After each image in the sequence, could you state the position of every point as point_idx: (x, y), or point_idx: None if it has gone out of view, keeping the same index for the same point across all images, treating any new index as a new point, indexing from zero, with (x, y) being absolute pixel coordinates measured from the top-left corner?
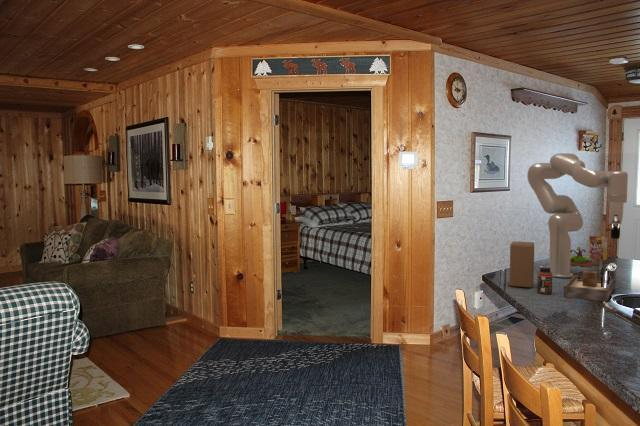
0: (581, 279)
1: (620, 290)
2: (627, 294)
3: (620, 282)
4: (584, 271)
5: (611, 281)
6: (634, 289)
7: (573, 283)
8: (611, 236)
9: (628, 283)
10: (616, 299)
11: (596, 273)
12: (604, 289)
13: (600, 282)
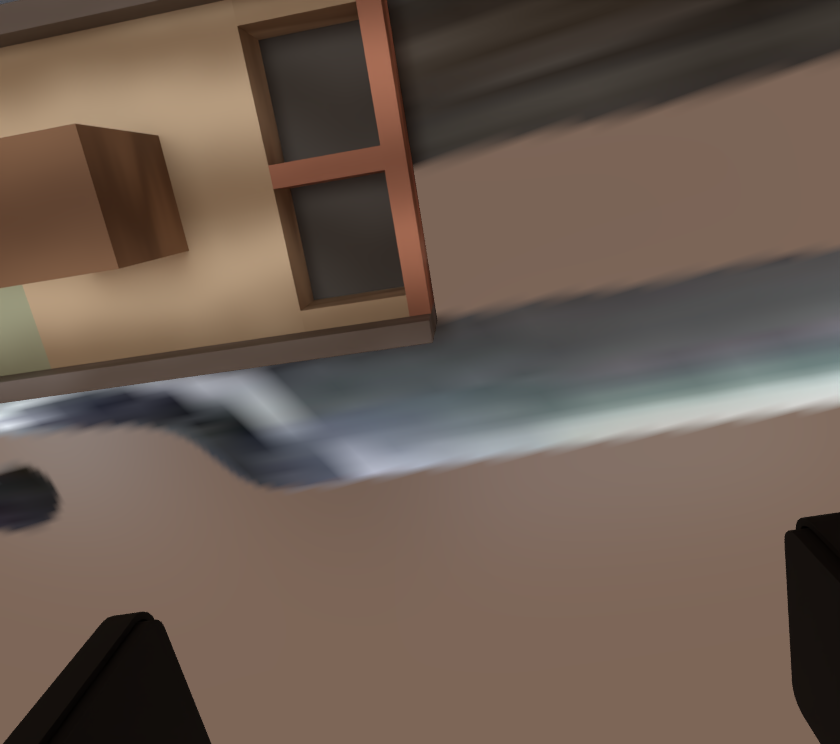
0: (367, 34)
1: (414, 377)
2: (297, 446)
3: (806, 299)
4: (3, 149)
5: (286, 356)
6: (532, 451)
7: (90, 43)
8: (89, 653)
9: (792, 365)
10: (69, 422)
11: (51, 279)
12: (55, 350)
13: (395, 227)
